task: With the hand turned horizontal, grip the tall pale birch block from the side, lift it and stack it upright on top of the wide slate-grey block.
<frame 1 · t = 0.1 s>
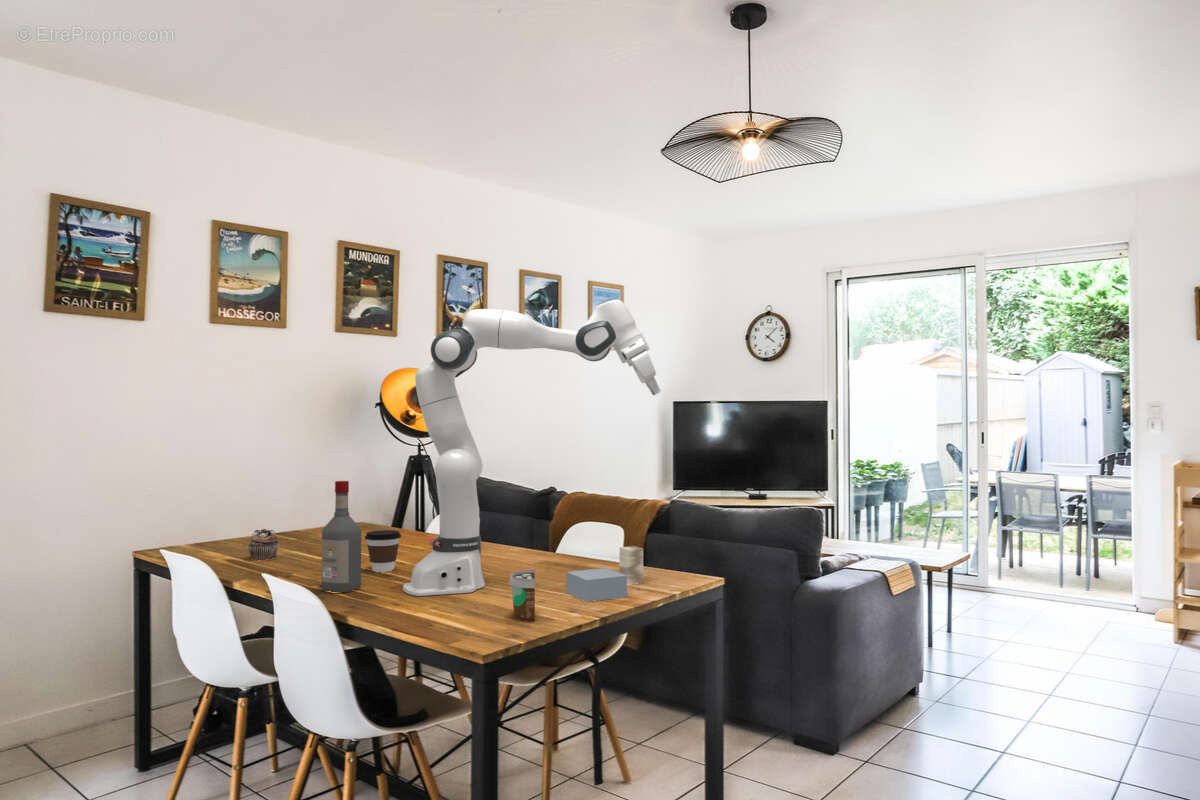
hand: (657, 393, 220), 54 cm above the table, tool tilted 30°, fingers open, 8 cm apart
slate block: (596, 596, 208), on the table
liquor: (341, 590, 216), on the table
birch block: (631, 582, 224), on the table
food container: (521, 617, 186), on the table
coffee cup: (383, 571, 242), on the table
cupcake: (263, 559, 264), on the table
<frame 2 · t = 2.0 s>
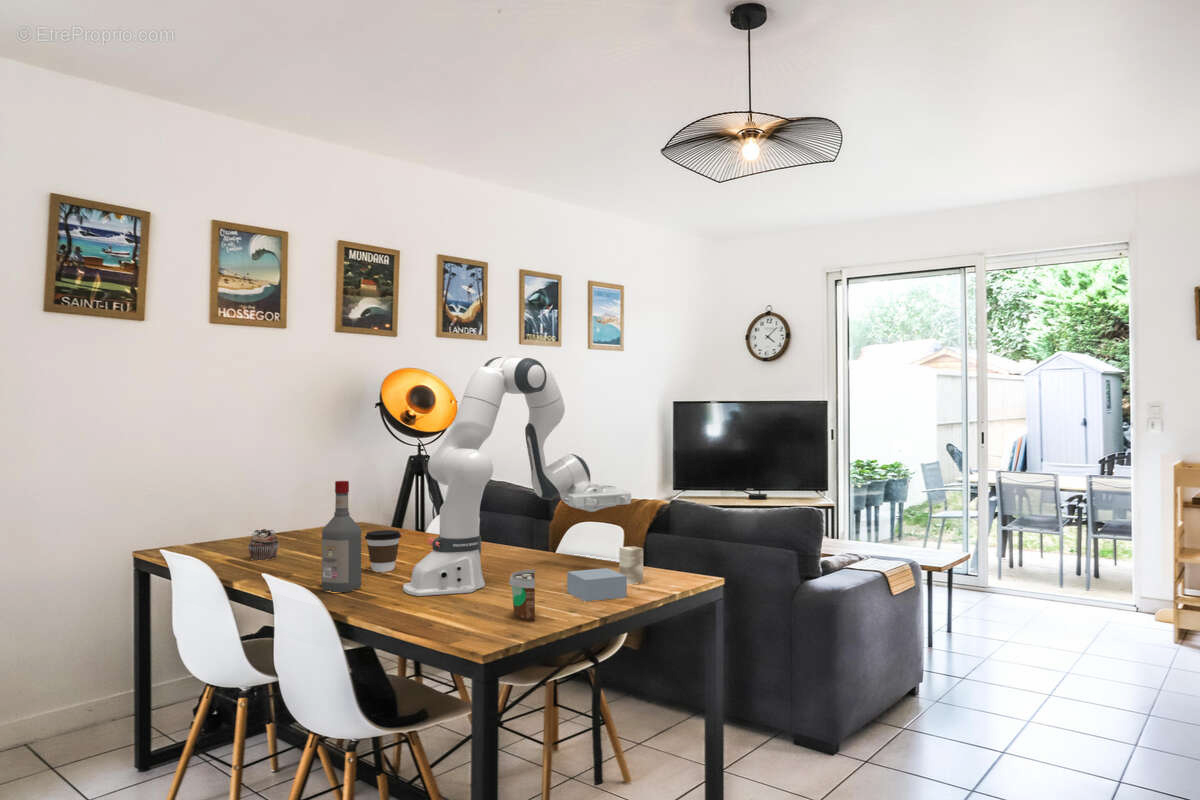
hand: (611, 501, 235), 22 cm above the table, tool horizontal, fingers open, 8 cm apart
nothing on the table moved.
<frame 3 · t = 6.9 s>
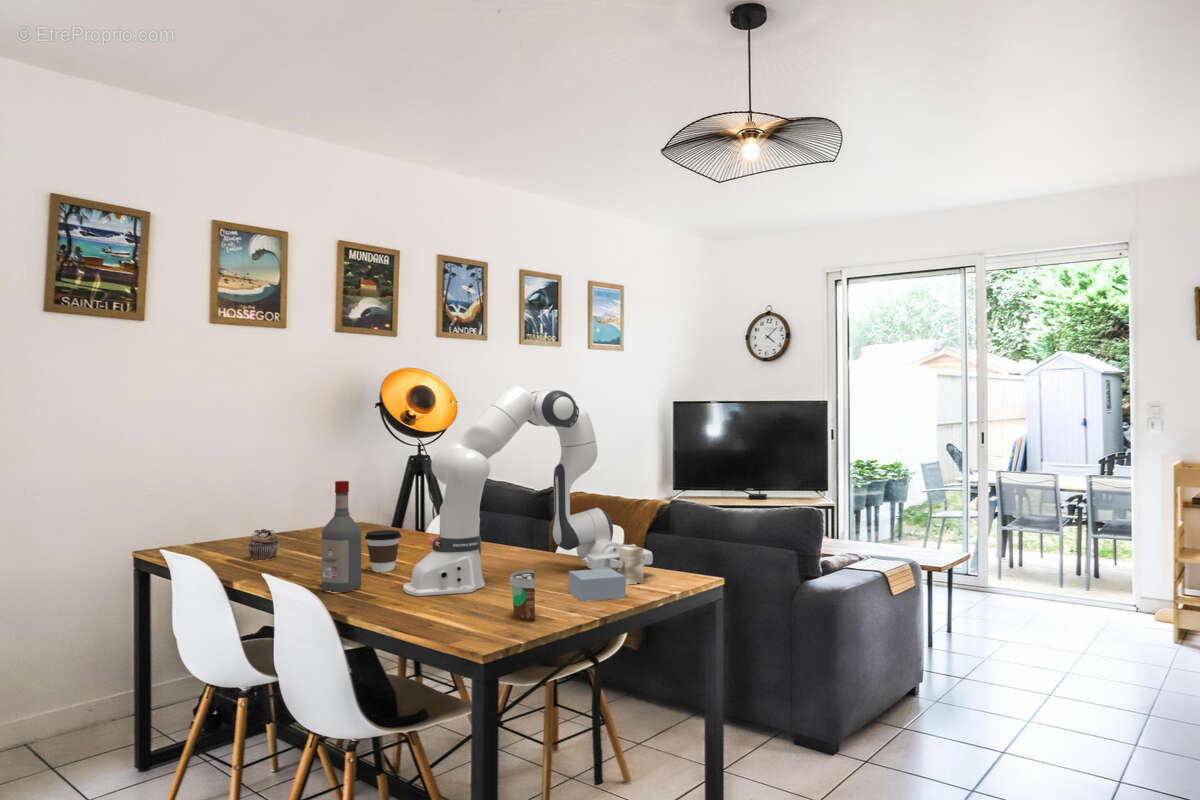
hand: (632, 564, 223), 6 cm above the table, tool horizontal, fingers closed on birch block, 5 cm apart
birch block: (631, 582, 224), on the table, touching gripper
everything else where it was.
when the fingers open (13 cm above the table, at t = 12.3 s): birch block drops 2 cm, point 6 cm above the table.
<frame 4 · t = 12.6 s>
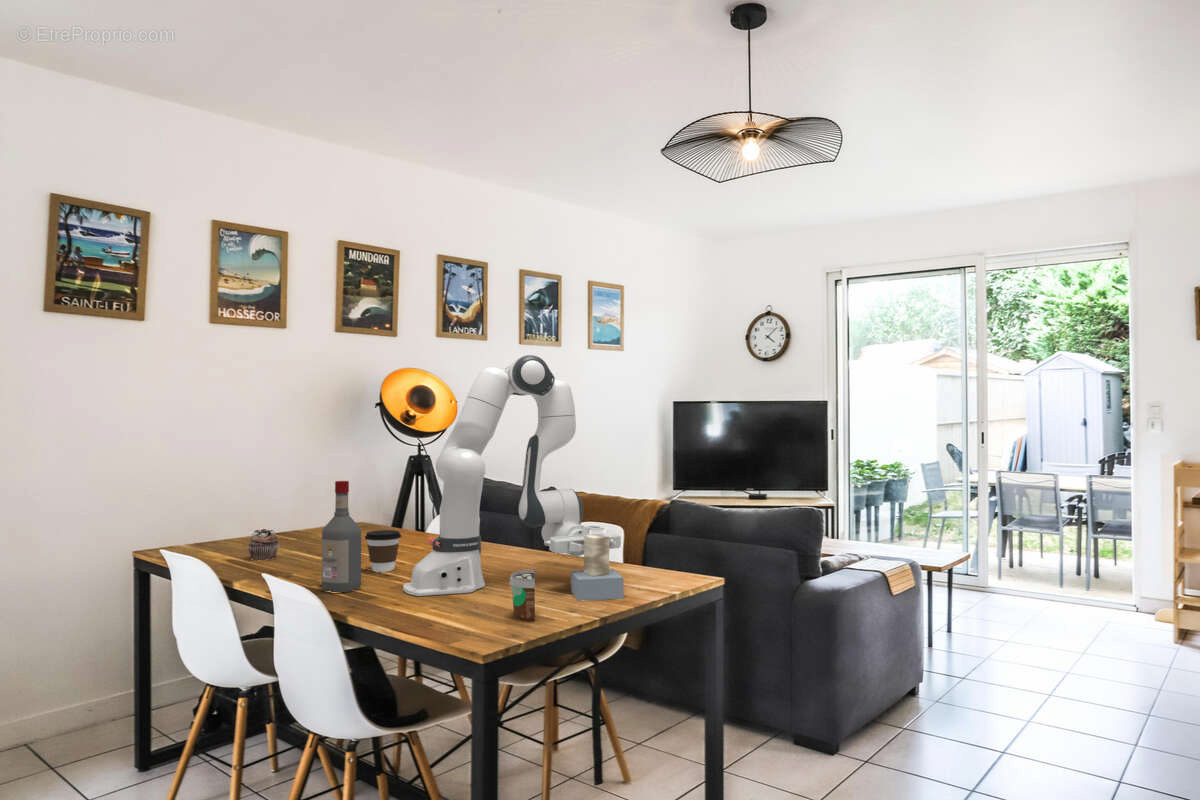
hand: (598, 546, 208), 13 cm above the table, tool horizontal, fingers open, 8 cm apart
birch block: (596, 573, 209), point 6 cm above the table
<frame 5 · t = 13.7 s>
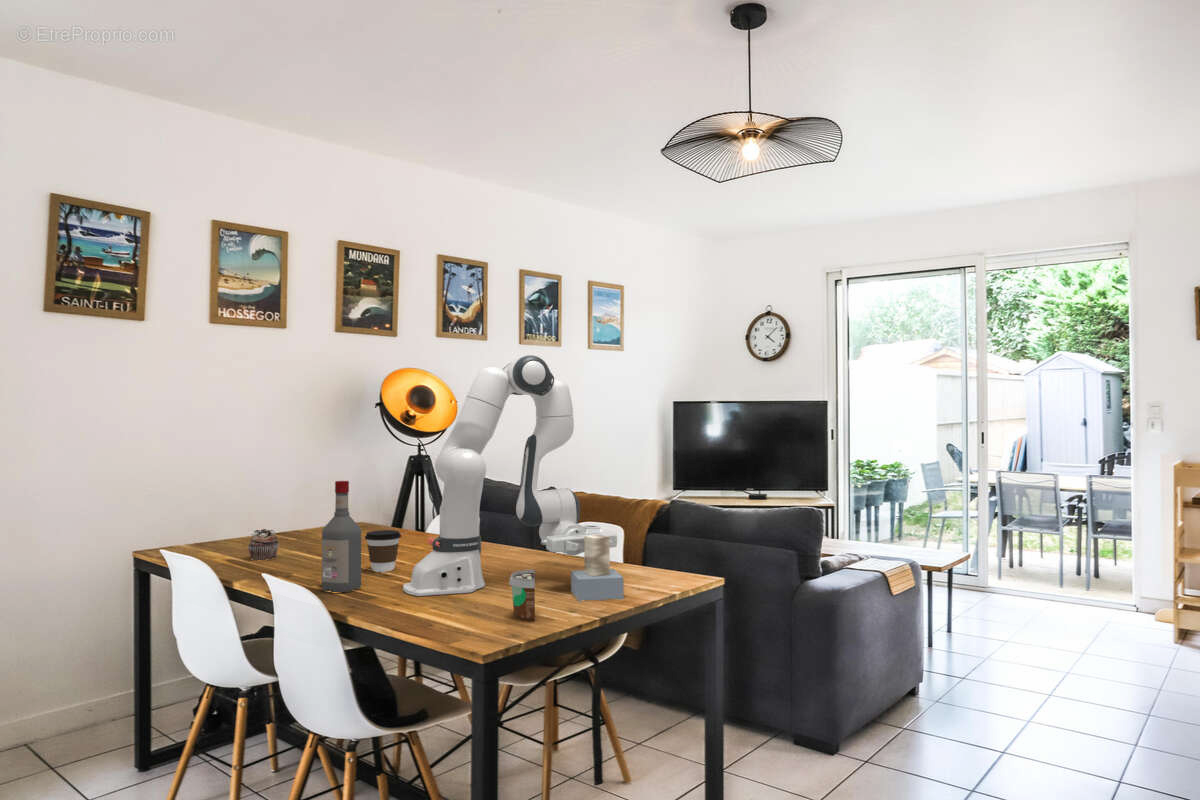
hand: (594, 546, 210), 13 cm above the table, tool horizontal, fingers open, 8 cm apart
slate block: (596, 596, 208), on the table, touching birch block
birch block: (596, 574, 208), point 6 cm above the table, touching slate block
everything else where it was.
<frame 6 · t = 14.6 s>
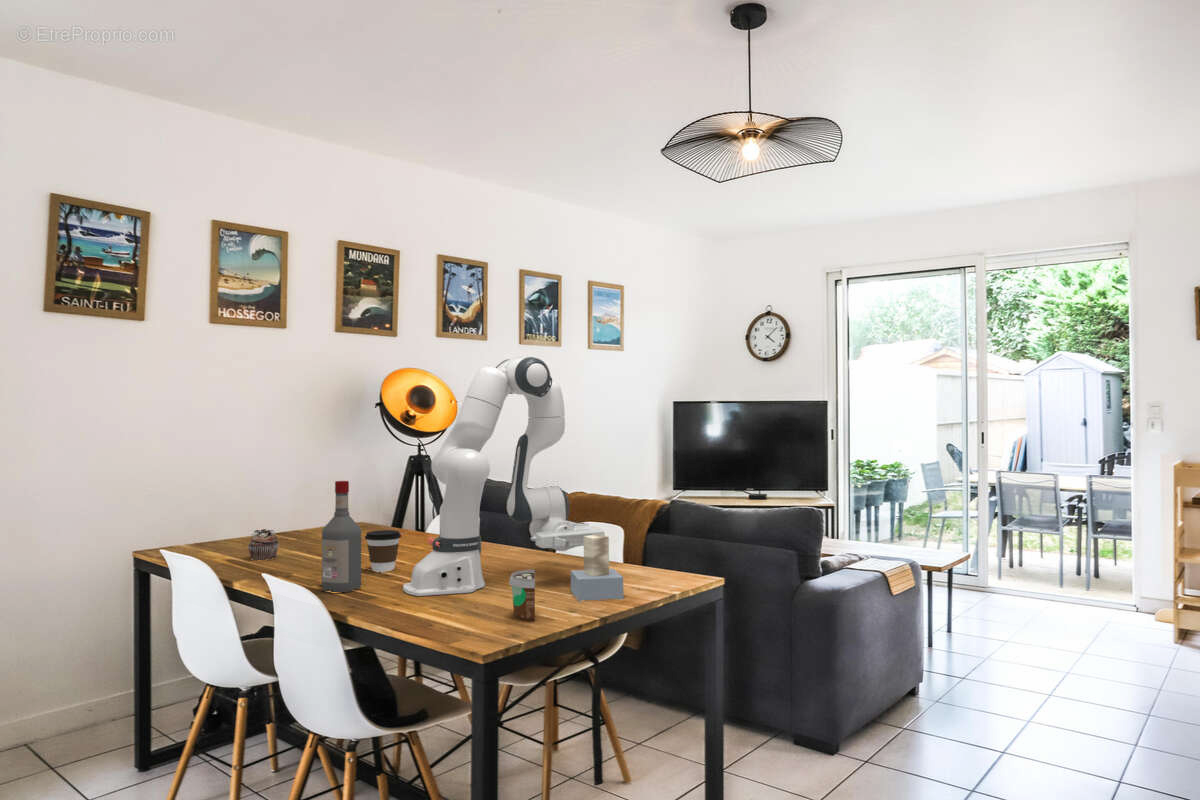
hand: (581, 541, 216), 13 cm above the table, tool horizontal, fingers open, 8 cm apart
nothing on the table moved.
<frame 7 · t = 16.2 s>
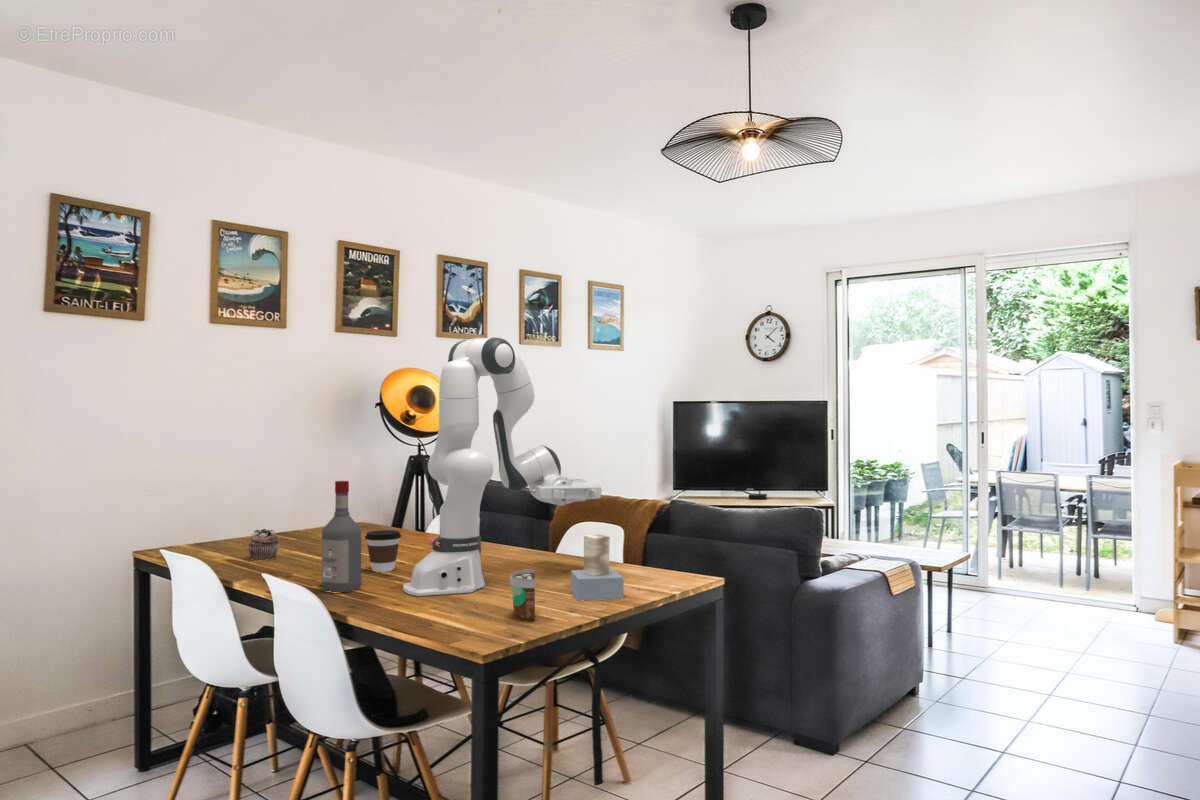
hand: (579, 494, 225), 25 cm above the table, tool horizontal, fingers open, 8 cm apart
slate block: (596, 596, 209), on the table
birch block: (596, 573, 209), point 6 cm above the table
everything else where it was.
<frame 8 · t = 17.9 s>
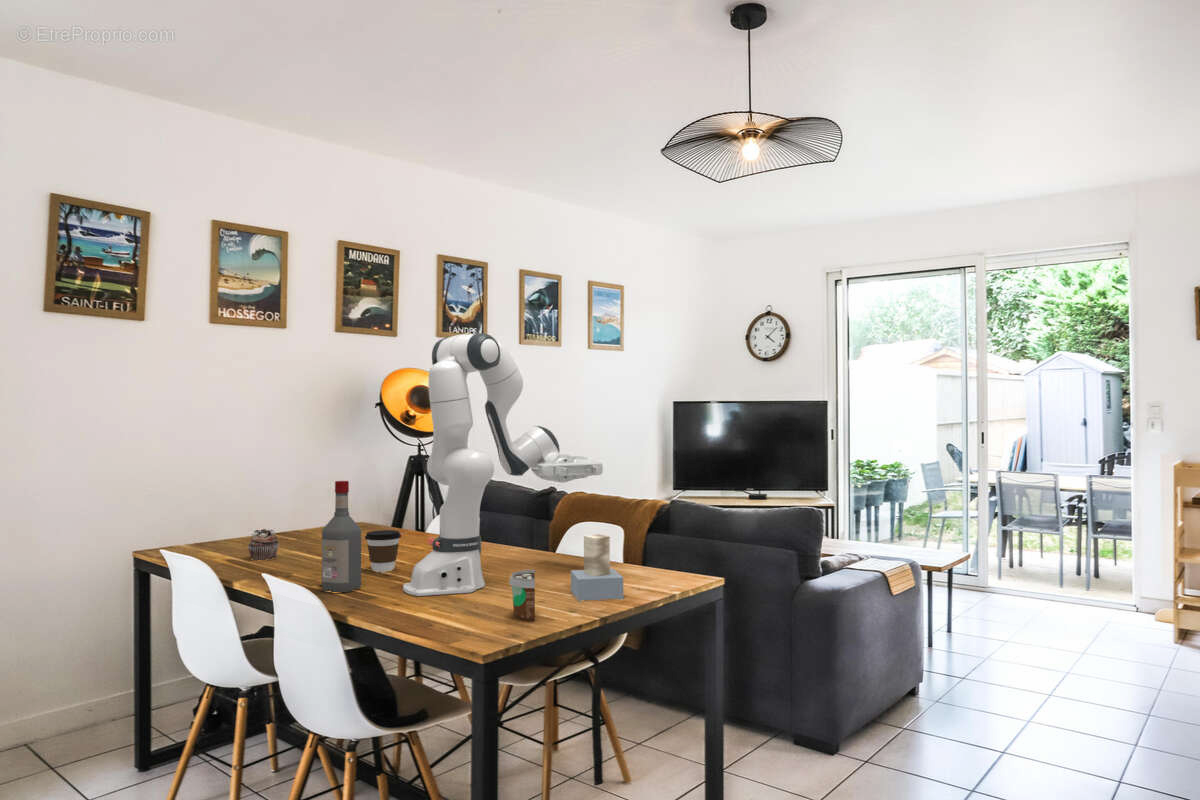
hand: (581, 470, 228), 32 cm above the table, tool horizontal, fingers open, 8 cm apart
slate block: (596, 596, 208), on the table, touching birch block
birch block: (596, 573, 209), point 6 cm above the table, touching slate block
everything else where it was.
at the end: birch block inside the target area on the slate block (0.1 cm from its centre), point 6.0 cm above the slate block's base; birch block tilted 1°; birch block touching slate block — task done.
